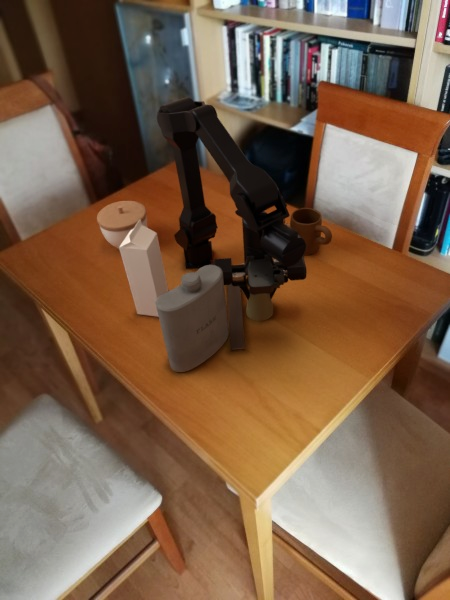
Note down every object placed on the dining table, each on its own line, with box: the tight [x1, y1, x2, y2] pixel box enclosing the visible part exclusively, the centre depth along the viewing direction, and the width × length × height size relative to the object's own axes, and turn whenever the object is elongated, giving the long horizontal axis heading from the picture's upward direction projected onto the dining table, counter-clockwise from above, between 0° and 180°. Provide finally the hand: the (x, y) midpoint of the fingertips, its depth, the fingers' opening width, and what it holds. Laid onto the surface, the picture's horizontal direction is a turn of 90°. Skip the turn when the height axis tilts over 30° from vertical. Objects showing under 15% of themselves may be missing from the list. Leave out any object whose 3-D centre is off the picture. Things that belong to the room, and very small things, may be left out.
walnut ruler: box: [226, 283, 246, 352], centre depth 105 cm, size 3×22×1 cm, turn 2°
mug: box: [289, 207, 333, 256], centre depth 116 cm, size 12×8×9 cm, turn 39°
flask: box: [155, 264, 230, 373], centre depth 91 cm, size 15×6×20 cm, turn 136°
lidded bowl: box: [96, 200, 149, 250], centre depth 124 cm, size 13×13×11 cm
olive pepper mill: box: [245, 276, 274, 322], centre depth 102 cm, size 6×6×11 cm
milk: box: [118, 219, 170, 318], centre depth 101 cm, size 6×6×22 cm
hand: (259, 298), depth 103 cm, fingers closed on olive pepper mill, 4 cm apart
